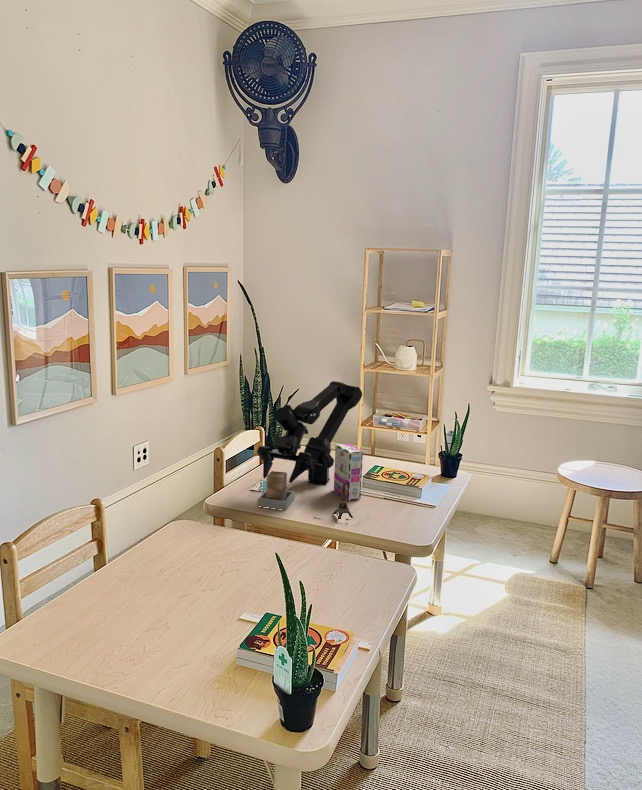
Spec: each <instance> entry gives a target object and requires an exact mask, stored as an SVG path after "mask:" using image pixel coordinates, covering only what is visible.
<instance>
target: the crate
mask: <svg viewBox="0 0 642 790" xmlns="http://www.w3.org/2000/svg"><path fill="white" fill-rule="evenodd" d="M295 495H296V493H295V491H292V490H291V491H290V490H287V492H286V501H283V500H274V499H267V490H266V491H265V492H262V494H261V495H260V496H259V497H258V500H257V501H258V502H257V503H258V504H257V505H258V506H261V507H269V508H275V509H282V510H281V511H284V510H287V511H288V509H289V508H290V507H291V506H292V504H293V503H294V502H295ZM293 501H294V502H293ZM292 502H293V503H292ZM290 505H291V506H290ZM258 506H257V507H258ZM289 506H290V507H289ZM288 507H289V508H288ZM275 509H274V510H275Z"/></svg>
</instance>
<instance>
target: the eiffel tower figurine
mask: <svg viewBox="0 0 642 790" xmlns="http://www.w3.org/2000/svg"><path fill="white" fill-rule="evenodd" d="M347 501H348V500H346V497H345V480H343V490H342V496H341V499H340V502H339V505H338V506H337V508H336V509H335V510H334V511H333V512H332V514H338V513H339V516H338V519H341V516H342V514H343V513H348V514H349V516H350V517H351V518H354V516H353V515H352V513H351V512H350V511H351V510H350V508H349V507H348V504H347Z"/></svg>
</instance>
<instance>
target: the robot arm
mask: <svg viewBox="0 0 642 790" xmlns="http://www.w3.org/2000/svg"><path fill="white" fill-rule="evenodd" d="M362 397H363V392H362V389H361V387H359V386H353V385H349V384H346V383H344V382H342V381H336V380H335V381H334V380H333V381H330V383H329V384H328V385H327V386H326V387H324V388H323V390H322V391H320V392H319V393H318V394H317V395H316V396H314V397H313V398H312V399H310V400H308V401H303V402H301V403H300V404H297V405H296V406H295V407H294V408H292V406H291V405H290V404H287V403H285V404H284V405H283V406H282V407H280V408H278V409H277V410H275V411H274V414H273V419H274V421H275V422H276V423H277V424H278V426H280V428H282V430H283V431H286V432H285V433H284V434H285V435H282V436H280V435H274V438H273V443H272V446H273V447H274V446H275V449H276V450H277V451H273V449H272V448H271V447H270V446H265V445H260V446H259V447H257V450H256V454H257V456H259V459H260V460H262V461H263V463H262V464H263V465H262V466H263V469H262V472H263V473H262V477H263V479H267V475H268V474H269V473H270V471H271V468H272V466H273V464H274V463H273V461H275V460H274V459H279V460H285V461H293V462H295V463H294V464H295V465H294V468H293V470H292V472H291V474H290V477H289V481H288V482H289V484H292V483H293V482H294V481H295V480H296V479H298V477H299V476H300V475H302V474H303V473H304V472H306V471H307V474H308V475H307V480H308V481H307V483H308V484H315V485H323V486H324V485H327V484H328V483H329V481H330V479H331V478H330V468H332V467H333V466H334V464H335V458H334V457H332V455H331V452H332V447H331V445H332V444H331V443H332V441H333V439H334V438H335V436H336V434H337V432H338V430H339V428H340V426H341V425H342V423H343V421H344V419H345V418H346V416H347V414H348V412H349V411H350V410H351V409H353V408H355V407H356V406H357V405H358V404H359V402H361V399H362ZM335 399H336V404H335V406H334V407H333V409H332V411H331V413H330V414H329V416H328V418H327V420H326V422H325V424H324V425H323V427H322V429H321V431H320V433H319V434H318V435H317V436H316V437H313V436H311V437H310V438H309V439H308V442H307V443H306V444H305V448H304V450H303V451H300V452H299V453H298V451H299V450H301V447H302V445H301V442H302V440H303V437H304V435H308V434H309V430H308V427H307V425H313V424H314V423H316V421H317V420H318V419H319V417H320V416H321V412H322V410H324V409H325V408H326V407H327V406H328V405H329V404H330V403H332V402H333V401H334V400H335ZM304 424H307V425H304ZM297 453H298V455H297Z"/></svg>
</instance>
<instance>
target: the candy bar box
mask: <svg viewBox="0 0 642 790" xmlns="http://www.w3.org/2000/svg"><path fill="white" fill-rule="evenodd" d="M334 448H335V450H334V451H335V453H334V454H335V455H334V471H333V472H334V476H333V491H334V492H336V494H338V495H339V496H341V497H342V490H343V480H345V497H346V501H348V502H350V501H358V500H361V497H362V496H361V495H362V474H363V458H364V457H363V455H364V451H362V450H360V449H359V448H357V447H354V446H353V445H351V444H349V443H348V442H347V443H336V444H335V447H334Z"/></svg>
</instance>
